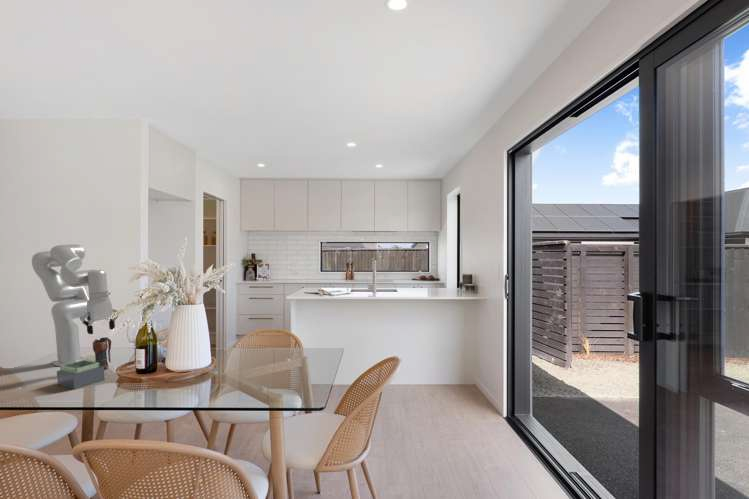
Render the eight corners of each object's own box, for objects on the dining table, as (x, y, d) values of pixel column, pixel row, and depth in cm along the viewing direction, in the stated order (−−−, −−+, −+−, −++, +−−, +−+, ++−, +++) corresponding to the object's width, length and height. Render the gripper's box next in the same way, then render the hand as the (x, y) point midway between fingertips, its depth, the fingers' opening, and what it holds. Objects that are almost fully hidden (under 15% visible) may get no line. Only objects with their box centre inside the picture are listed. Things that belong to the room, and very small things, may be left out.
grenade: (111, 369, 200) (109, 338, 200) (92, 372, 197) (90, 340, 197) (114, 366, 206) (112, 335, 205) (95, 368, 203) (93, 337, 202)
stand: (57, 384, 181) (56, 366, 181) (87, 375, 192) (86, 358, 191) (74, 389, 174) (72, 370, 174) (104, 380, 185) (103, 362, 185)
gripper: (112, 293, 209) (115, 327, 210) (74, 298, 194) (77, 335, 195) (121, 293, 206) (124, 328, 206) (82, 299, 191) (86, 336, 191)
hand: (101, 331), depth 201 cm, fingers open, 9 cm apart
